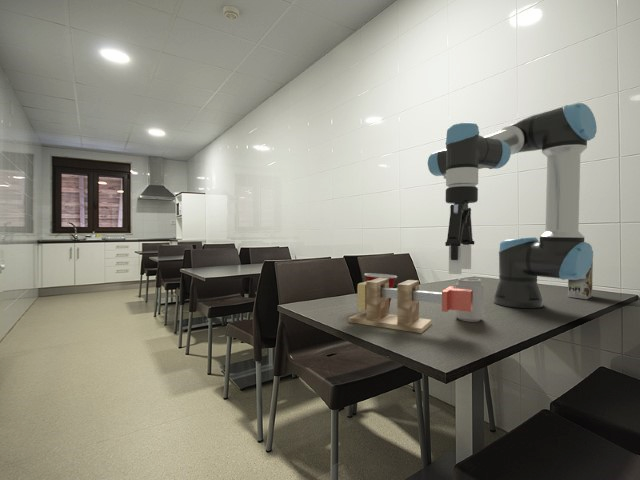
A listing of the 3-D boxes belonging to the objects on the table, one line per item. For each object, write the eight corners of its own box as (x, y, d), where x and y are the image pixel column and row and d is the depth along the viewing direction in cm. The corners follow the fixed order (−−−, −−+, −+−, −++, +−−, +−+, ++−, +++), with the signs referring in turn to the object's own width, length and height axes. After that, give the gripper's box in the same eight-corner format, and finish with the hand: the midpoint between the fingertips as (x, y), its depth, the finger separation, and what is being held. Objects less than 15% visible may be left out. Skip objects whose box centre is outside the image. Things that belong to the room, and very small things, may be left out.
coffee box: (588, 299, 128) (588, 256, 127) (567, 297, 133) (567, 255, 132) (593, 296, 134) (593, 255, 134) (572, 294, 139) (573, 254, 138)
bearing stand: (431, 324, 96) (431, 281, 96) (421, 333, 88) (421, 286, 87) (363, 314, 107) (363, 276, 107) (348, 321, 99) (348, 280, 99)
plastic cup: (404, 311, 112) (404, 274, 112) (378, 315, 106) (378, 276, 106) (382, 304, 121) (382, 271, 121) (357, 308, 116) (357, 273, 116)
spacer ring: (375, 305, 104) (375, 281, 103) (365, 310, 97) (365, 284, 97) (368, 304, 105) (368, 280, 105) (357, 309, 99) (357, 283, 98)
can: (486, 323, 97) (486, 280, 96) (458, 321, 98) (458, 280, 98) (479, 316, 104) (479, 277, 104) (453, 315, 105) (453, 276, 105)
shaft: (474, 307, 90) (474, 288, 89) (468, 314, 82) (468, 293, 82) (365, 295, 106) (365, 279, 106) (352, 300, 99) (352, 283, 99)
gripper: (455, 192, 99) (454, 266, 99) (433, 182, 78) (432, 275, 78) (484, 191, 95) (483, 267, 95) (469, 179, 74) (467, 277, 74)
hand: (460, 271), depth 87 cm, fingers open, 13 cm apart
